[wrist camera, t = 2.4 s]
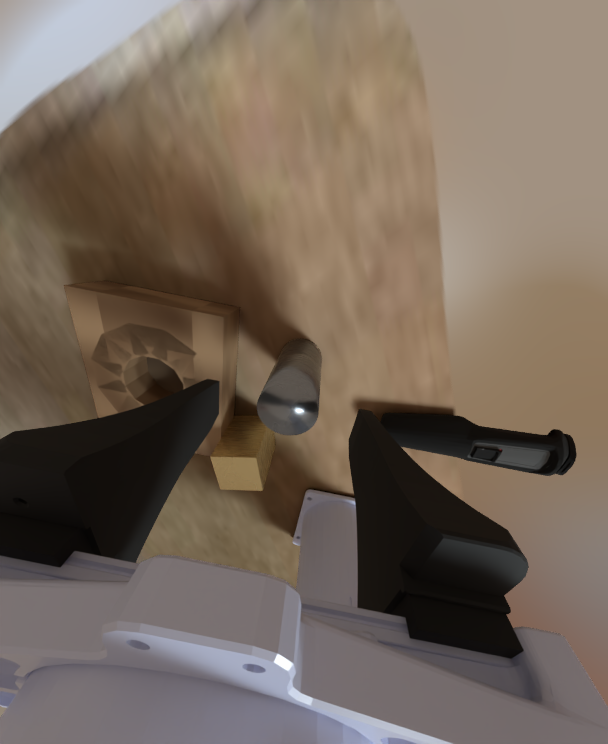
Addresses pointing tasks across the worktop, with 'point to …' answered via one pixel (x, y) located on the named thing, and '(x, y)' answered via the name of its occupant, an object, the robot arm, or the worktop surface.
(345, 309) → the worktop surface
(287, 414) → the round peg
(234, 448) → the square bar
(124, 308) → the socket block
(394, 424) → the electric trimmer
